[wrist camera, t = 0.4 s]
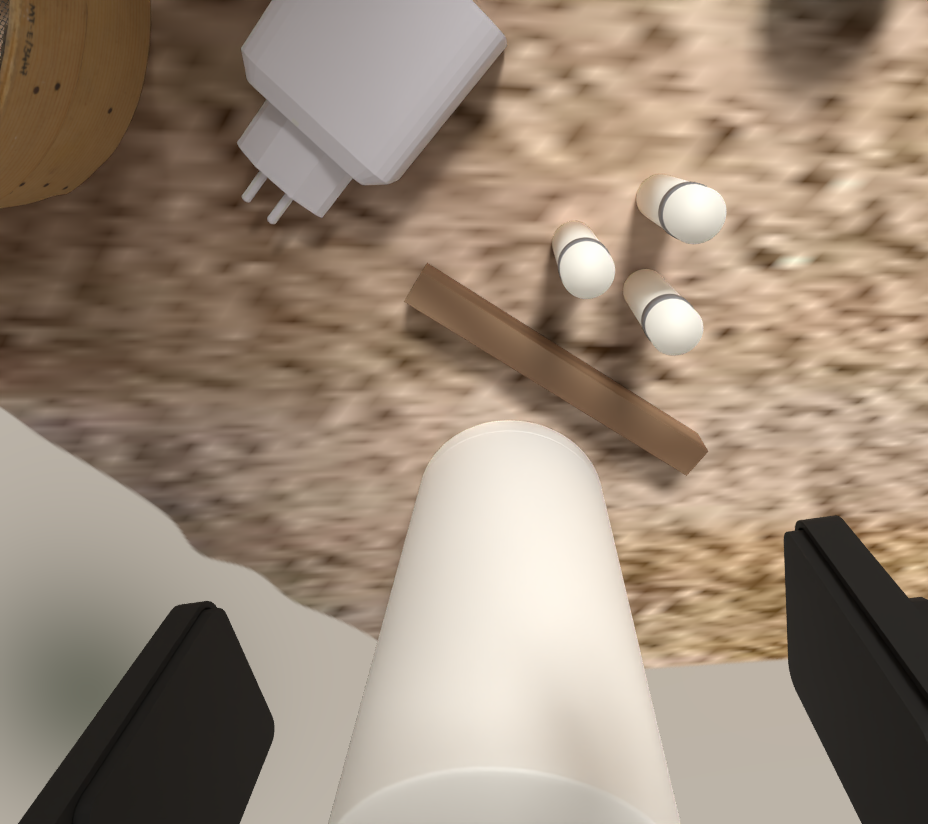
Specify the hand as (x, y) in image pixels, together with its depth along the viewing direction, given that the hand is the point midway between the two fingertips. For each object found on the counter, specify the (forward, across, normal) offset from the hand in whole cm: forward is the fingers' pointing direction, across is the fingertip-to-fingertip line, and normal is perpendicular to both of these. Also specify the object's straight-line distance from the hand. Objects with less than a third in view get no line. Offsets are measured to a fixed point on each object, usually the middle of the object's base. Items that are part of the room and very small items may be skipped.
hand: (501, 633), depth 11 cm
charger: (+30, +7, -11) cm, 33 cm away
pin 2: (+30, -7, +3) cm, 31 cm away
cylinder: (+30, +3, +16) cm, 34 cm away
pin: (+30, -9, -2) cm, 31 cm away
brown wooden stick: (+30, -2, +6) cm, 31 cm away
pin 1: (+30, -4, -1) cm, 30 cm away
